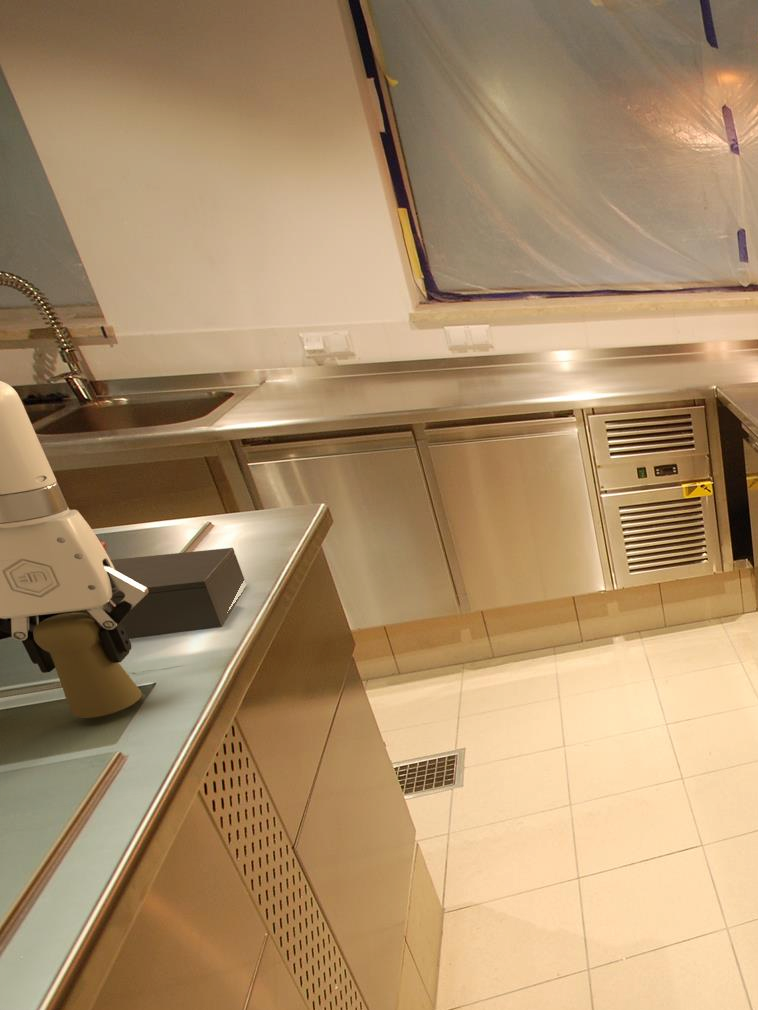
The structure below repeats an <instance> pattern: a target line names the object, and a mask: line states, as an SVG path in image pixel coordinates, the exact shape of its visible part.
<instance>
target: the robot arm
mask: <svg viewBox="0 0 758 1010" xmlns="http://www.w3.org/2000/svg"><path fill="white" fill-rule="evenodd" d="M99 540H100V539H99V538H98V536H97V535H96V533H95V532H94V530H93V529H92V527H91V526H90V525H89V523H88V522H87V521H86V519H85V518H84V516H83V515H82V514H81V513H80V512H79V510H77V509H70V507H69V506H68V504H67V501H66V499H65V497H64V495H63V492H62V490H61V488H60V486H59V483H58V481H57V478H56V476H55V473H54V472H53V469H52V467H51V465H50V462H49V460H48V458H47V456H46V454H45V451H44V449H43V447H42V445H41V442H40V439H39V438H38V435H37V433H36V431H35V429H34V426H33V424H32V422H31V420H30V417H29V415H28V413H27V410H26V408H25V406H24V404H23V402H22V399H21V397H20V396H19V394H18V392H17V391H16V390H15V388H14V387H12V386H11V385H10V384H8V383H7V382H4V381H1V380H0V631H1V632H2V633H3V632H4V633H6V634H8V635H11V637H12V638H13V640H15V641H20V642H21V643H22V645H23V646H24V649H25V651H26V652H27V655H28V656H29V658H30V661H31V662H32V663H33V664H34V665H37V666H38V668H39V670H40V672H41V673H43V674H44V673H45V674H46V673H51V672H52V671H53V670H55V669H56V668H55V665H54V663H53V660H52V657H51V654H50V652H47V651H45V650H43V649H42V648H41V647H40V646H38V645H37V643H36V642H35V640H34V636H33V631H34V628H35V626H36V625H37V624H38V623H40V617H39V616H43V615H45V616H46V615H53V614H63V613H71V612H73V611H79V610H87V611H88V612H89V613H90V614H91V615H92V617H93V618H94V619H95V620H96V621H97V622H98V623H99V624H100V626H101V628H102V629H101V630H100V631H99V633H98V634H99V637H100V639H101V641H102V643H103V645H104V648H105V650H106V652H107V654H108V656H109V659H110V661H111V662H114V663H119V664H120V663H122V662H123V661H124V659H125V658H126V657H127V656H128V655H129V654H130V651H131V650H132V642H131V639H129V638H128V636H127V633H126V631H125V629H124V627H123V624H122V622H121V621H122V620H123V619H124V618H125V616H126V615H127V614H128V613H129V612H130V611H131V609H132V608H133V607H134V606H135V605H136V604H137V603H138V602H139V601H140V600H142V599H143V598H144V597H145V596H146V595H147V594H148V592H149V590H148V588H146V587H145V586H143V585H141V584H139V583H137V582H136V581H134V580H132V579H130V578H128V577H127V576H125V575H123V574H121V573H119V572H118V571H116V570H115V568H114V566H113V564H112V562H111V560H112V559H111V558H110V557H109V555H108V553H107V550H105V549H104V548H103V546H102V544H101V543H100V541H101V540H100V541H99ZM119 591H121V592H123V593H124V594H125V597H124V598H123V599H122V600H121V601H120V602H119V603H118V604H117V605H115V604H114V602H113V601H112V600H111V598H112V594H115V593H117V592H119Z"/></svg>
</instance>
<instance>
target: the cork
mask: <svg viewBox="0 0 758 1010" xmlns="http://www.w3.org/2000/svg"><path fill="white" fill-rule="evenodd" d="M100 630H101V626H100V624H99V623H98V622H97V621H96V620H95V619H94V618H93V617H92V616H90V615H88V614H85V613H73V612H64V613H59V614H57V615H56V614H55V615H52V616H50V617H47V618H45V619H43V620H41V621H39V623H38V624H37V625H36V626H35V628H34V631H33V636H34V640H35V642H36V643H37V645H38V646H40V647H41V648H42V649H43V650H45V651H47V652H50V654H51V657H52V660H53V663H54V665H55V668H54V669H55V671H56V675H57V677H58V679H59V682H60V685H61V688H62V691H63V694H64V697H65V699H66V702H67V705H68V708H69V711H70V714H71V715H72V716H73V717H77V718H82V719H86V718H87V719H88V718H89V719H90V718H97V717H104V716H107V715H112V714H115V713H118V712H121V711H122V710H125V709H127V708H129V707H131V706H132V705H134V704H135V703H137V702H138V701H139V700H140V699H141V697H142V695H143V694H142V690H141V689H140V688H139V686H137V684H136V683H135V682H134V680H133V679H132V678H131V676H130V675H129V674H128V672H126V670H125V669H124V667H123V666H122V665H121V664H120V662H119V663H114V662H111V661H110V659H109V656H108V654H107V652H106V650H105V648H104V645H103V643H102V641H101V639H100V637H99V634H98V633H99V631H100Z"/></svg>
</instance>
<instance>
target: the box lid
mask: <svg viewBox="0 0 758 1010" xmlns="http://www.w3.org/2000/svg"><path fill="white" fill-rule="evenodd" d="M99 541H100V543H101V544H102V546H103V548H104V549H105V551H107V549H108V545H107V543H106V542H104V541H103V540H100V539H99ZM234 553H235V554H236V551H235V549H234V547H226V548H216V549H206V550H205V549H204V550H196V551H195V550H194V551H185V552H176V553H175V552H174V553H166V554H156V555H147V556H146V555H145V556H137V557H136V556H135V557H126V558H125V557H124V558H115V559H110V560H111V562H112V564H113V566H114V568H115V570H116V571H118V572H119V573H121V574H123V575H125V576H127V577H128V578H130V579H132V580H134V581H136V582H137V583H139V584H141V585H143V586H145V587H146V588H148V590H149V592H148V593H155V592H163V591H172V590H181V589H190V588H199V587H206V586H207V585H208V584H209V583H210V581H211V580H212V579H213V578H214V577H215V576H216V574H217V573H218V572H219V571H220V570H221V568H222V567H223V566H224V565H225V564H226V562H227V561H228V560H229V559H230V558H231V556H232V555H233V554H234ZM120 596H125V594H124V593H123V592H121V591H119V592H117V593H115V594H112V597H120Z"/></svg>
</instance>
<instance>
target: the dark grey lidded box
mask: <svg viewBox="0 0 758 1010" xmlns="http://www.w3.org/2000/svg"><path fill="white" fill-rule="evenodd" d="M244 580H245V581H246V579H245V577H244V574H243V571H242V568H241V565H240V563H239V560H238V558H237V555H236V552H235V553H234V554H233V555H232V556H231V558H230V559H229V560H228V561H227V562H226V564H225V565H224V566H223V567H222V568H221V570H220V571H219V572H218V573H217V574H216V576H215V577H214V578H213V579H212V580H211V581H210V583H209V584H208V585H207V586H206V587H199V588H190V589H181V590H172V591H163V592H155V593H148V594H147V595H146V596H145V597H144V598H143V599H142V600H140V601H139V602H138V603H137V604H136V605H135V606H134V607H133V608H132V609H131V611H130V612H129V613H128V614H127V615H126V616H125V618H124V619H123V620H122V621H121V622H122V624H123V627H124V629H125V631H126V633H127V636H128V638H129V640H132V639H141V638H147V637H156V636H163V635H171V634H178V633H187V632H194V631H202V630H209V629H217V628H222V627H223V626H224V624H225V623H226V621H227V619H228V618H229V616H230V614H231V613H232V611H233V609H234V608H235V606H236V605H237V603H238V601H239V599H240V598H241V596H242V595H243V593H244V591H245V589H246V588H245V589H244V591H243V592H242V593H241V595H240V596H239V597H238V599H237V600H236V602H235V603H234V604H233V606H232V607H231V609H230V610H229V607H230V606H231V604H232V602H233V600H234V598H235V596H236V594H237V592H238V590H239V588H240V586H241V584H242V583H243V581H244ZM124 597H125V596H120V597H112V598H111V600H112V601H113V602H114V604H115V605H117V604H118V603H119V602H120V601H121V600H122V599H123V598H124ZM228 610H229V611H228ZM227 612H228V613H227ZM72 613H85V614H88V615H90V616H92V615H91V614H90V613H89V612H88V611H87V610H79V611H72ZM101 629H102V628H101Z"/></svg>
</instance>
